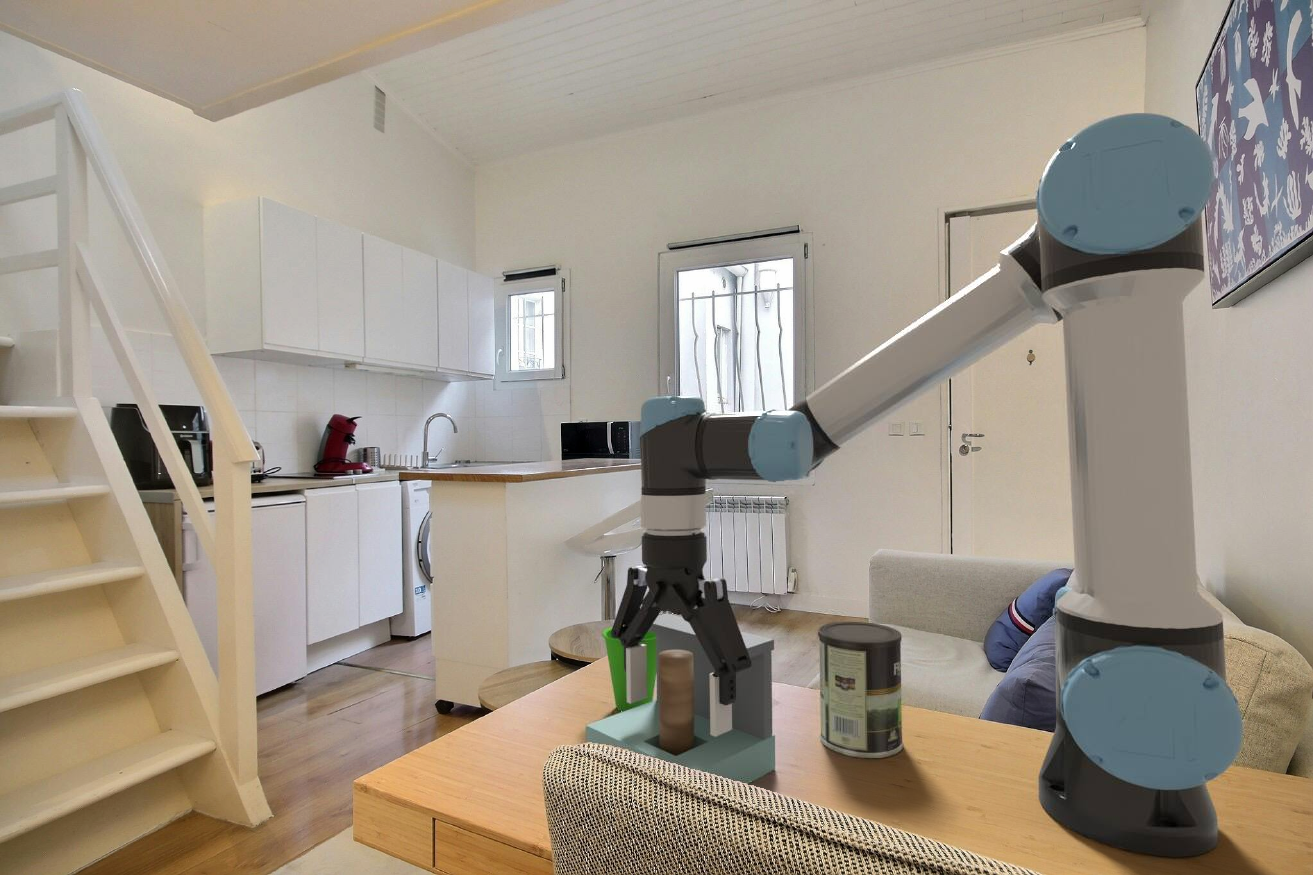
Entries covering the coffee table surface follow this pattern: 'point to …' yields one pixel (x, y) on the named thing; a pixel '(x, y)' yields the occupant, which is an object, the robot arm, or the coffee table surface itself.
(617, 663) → the cup
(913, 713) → the coffee table surface
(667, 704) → the peg
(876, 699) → the coffee can
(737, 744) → the socket station
